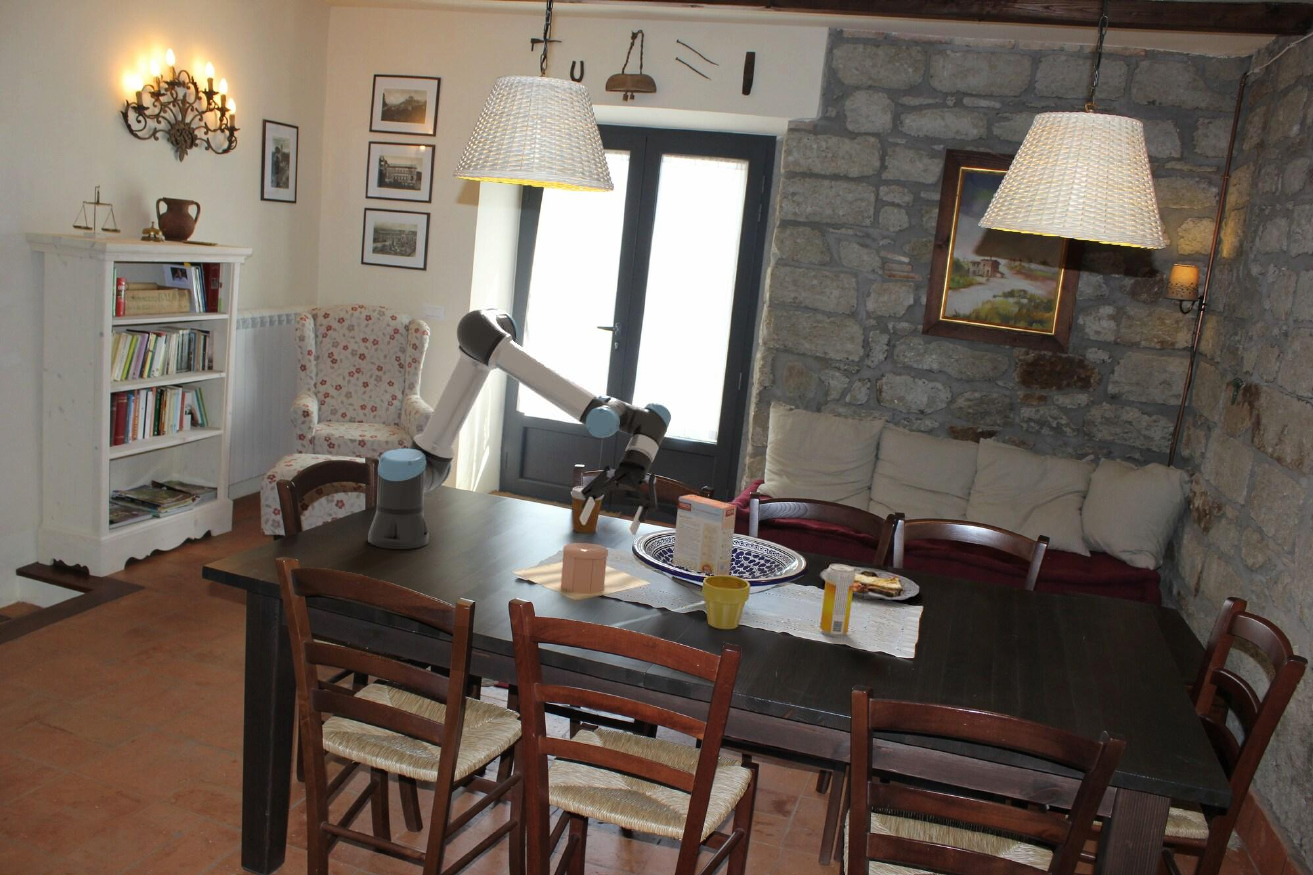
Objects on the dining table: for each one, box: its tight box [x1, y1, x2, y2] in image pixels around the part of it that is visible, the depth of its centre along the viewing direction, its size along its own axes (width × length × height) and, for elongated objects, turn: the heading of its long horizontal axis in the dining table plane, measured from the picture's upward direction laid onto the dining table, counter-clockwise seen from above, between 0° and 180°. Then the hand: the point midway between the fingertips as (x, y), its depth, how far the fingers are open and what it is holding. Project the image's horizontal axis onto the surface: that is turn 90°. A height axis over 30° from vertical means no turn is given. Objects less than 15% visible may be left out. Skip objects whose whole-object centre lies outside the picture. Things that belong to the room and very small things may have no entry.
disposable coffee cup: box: [570, 485, 605, 534], centre depth 284 cm, size 10×10×12 cm
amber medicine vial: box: [819, 563, 855, 638], centre depth 218 cm, size 6×6×15 cm
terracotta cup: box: [561, 542, 609, 594], centre depth 233 cm, size 10×10×9 cm
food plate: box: [818, 566, 920, 601], centre depth 254 cm, size 25×23×4 cm
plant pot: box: [701, 575, 751, 630], centre depth 217 cm, size 10×10×10 cm
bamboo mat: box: [511, 561, 652, 602], centre depth 240 cm, size 24×24×1 cm
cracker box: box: [671, 494, 737, 576], centre depth 245 cm, size 14×6×21 cm, turn 50°
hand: (607, 526), depth 239 cm, fingers open, 13 cm apart
